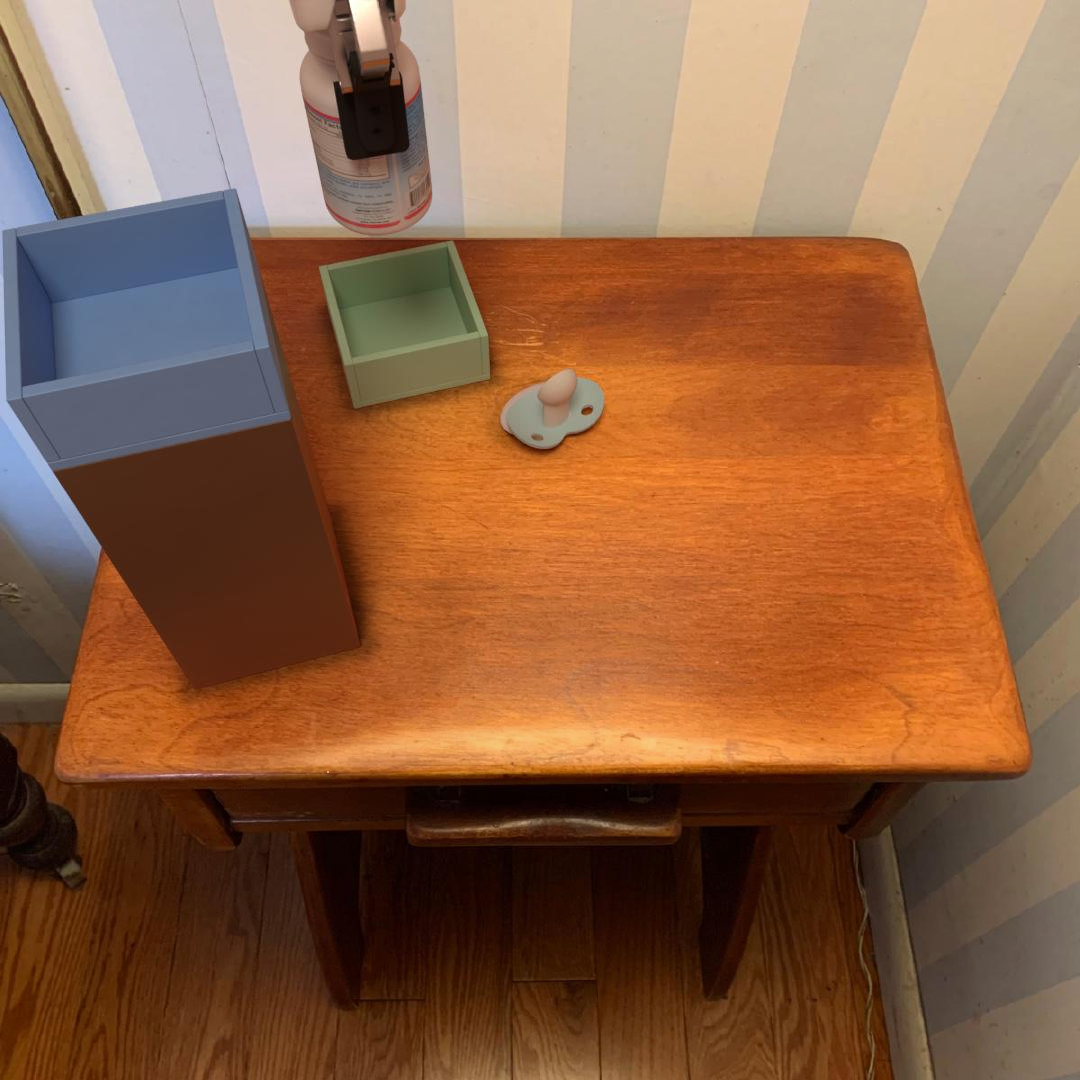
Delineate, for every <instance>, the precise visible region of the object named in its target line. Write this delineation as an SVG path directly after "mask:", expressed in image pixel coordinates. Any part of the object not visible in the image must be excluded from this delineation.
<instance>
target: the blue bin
mask: <svg viewBox="0 0 1080 1080" xmlns="http://www.w3.org/2000/svg"><path fill="white" fill-rule="evenodd" d="M1 232H2V233H1V234H2V235H1V237H2V271H3V272H2V273H3V277H2V278H3V313H4V314H3V318H4V320H3V323H4V358H5V359H4V361H5V395H6V396H5V401H6V402H7V404H8V406H9V408H11V411H13V413H14V414H15V416H16V418H17V419H18V421H19V422H20V424H21V425H22V427H23V429H24V430H25V431H26V434H27V435H28V436H29V437H30V440H31V441H32V443H33V444H34V445H35V447H36V449H37V451H39V453H40V455H41V456H42V458H43V459H44V461H45V462H46V464H47V465H48V467H49V468H50V470H51V471H52V473H53V475H54V476H55V478H56V479H57V481H58V482H59V484H60V485H61V487H62V489H63V490H64V492H65V493H66V495H67V496H68V498H69V500H70V501H71V502H72V504H73V506H74V507H75V508H76V510H77V512H78V514H79V515H80V516H81V517H82V519H83V521H84V522H85V524H86V525H87V527H88V528H89V530H90V531H91V533H92V535H93V536H94V538H95V540H96V541H97V543H98V544H99V545H100V547H101V549H102V550H103V551H104V553H105V554H106V556H107V557H108V559H109V561H110V562H111V564H112V565H113V567H114V568H115V569H116V571H117V573H118V574H119V575H120V577H121V579H122V581H123V582H124V584H125V585H126V587H127V588H128V590H129V591H130V593H131V594H132V596H133V597H134V599H135V601H136V602H137V604H138V606H139V607H140V609H141V610H142V612H143V613H144V614H145V616H146V617H147V620H149V622H150V624H151V625H152V627H153V628H154V630H155V631H156V633H157V634H158V636H159V638H160V639H161V640H162V642H163V643H164V645H165V646H166V648H167V650H168V652H169V653H170V654H171V656H172V657H173V659H174V661H175V662H176V664H177V665H178V667H179V668H180V670H181V671H182V673H183V674H184V676H185V677H186V679H187V681H188V682H189V683H190V685H191V687H192V688H193V689H194V690H199V689H203V688H206V687H210V686H215V685H218V684H221V683H226V682H230V681H233V680H238V679H243V678H245V677H248V676H252V675H253V676H254V675H257V674H260V673H264V672H269V671H272V670H276V669H280V668H283V667H288V666H292V665H295V664H299V663H300V664H301V663H303V662H308V661H311V660H316V659H319V658H322V657H327V656H331V655H334V654H339V653H343V652H346V651H350V650H354V649H358V648H361V642H360V638H359V632H358V630H357V629H358V627H357V625H356V620H355V615H354V611H353V608H352V603H351V598H350V594H349V590H348V585H347V580H346V575H345V571H344V568H343V564H342V559H341V554H340V550H339V546H338V541H337V537H336V532H335V528H334V524H333V520H332V515H331V512H330V509H329V506H328V502H327V498H326V494H325V491H324V488H323V484H322V481H321V477H320V474H319V471H318V467H317V464H316V460H315V457H314V456H315V455H314V453H313V450H312V446H311V442H310V439H309V436H308V433H307V429H306V426H305V422H304V418H303V416H302V412H301V409H300V404H299V402H298V398H297V395H296V391H295V388H294V384H293V380H292V378H291V374H290V370H289V367H288V363H287V360H286V357H285V353H284V350H283V345H282V343H281V339H280V336H279V333H278V329H277V325H276V322H275V319H274V315H273V311H272V308H271V304H270V301H269V298H268V295H267V291H266V288H265V284H264V281H263V277H262V274H261V270H260V266H259V262H258V260H257V257H256V253H255V250H254V246H253V243H252V239H251V235H250V232H249V228H248V225H247V222H246V219H245V215H244V211H243V207H242V204H241V201H240V197H239V194H238V191H237V188H236V187H234V188H229V189H224V190H217V191H211V192H207V193H201V194H196V195H195V194H194V195H190V196H185V197H179V198H174V199H173V198H172V199H167V200H162V201H156V202H151V203H150V202H149V203H145V204H140V205H134V206H128V207H123V208H118V209H113V210H112V209H111V210H107V211H101V212H95V213H90V214H85V215H79V216H73V217H67V218H61V219H56V220H51V221H46V222H40V223H34V224H29V225H24V226H18V227H13V228H12V227H11V228H7V229H3V230H2V231H1Z"/></svg>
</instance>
